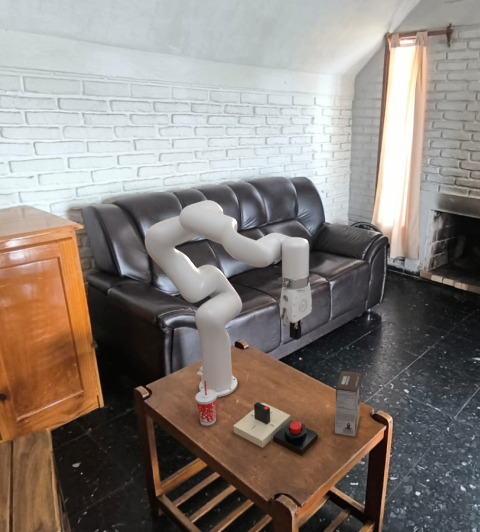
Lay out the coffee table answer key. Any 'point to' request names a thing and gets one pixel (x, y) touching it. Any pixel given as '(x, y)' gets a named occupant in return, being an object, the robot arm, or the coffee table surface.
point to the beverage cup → (206, 406)
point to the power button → (295, 427)
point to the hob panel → (261, 426)
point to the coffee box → (348, 403)
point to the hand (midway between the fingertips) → (295, 337)
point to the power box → (295, 439)
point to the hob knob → (262, 413)
